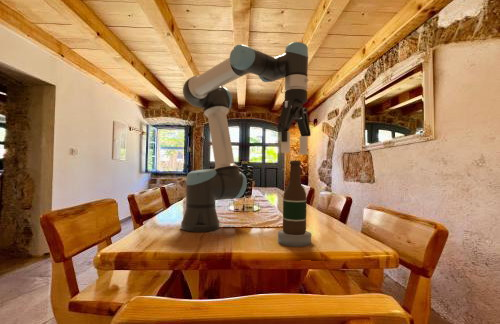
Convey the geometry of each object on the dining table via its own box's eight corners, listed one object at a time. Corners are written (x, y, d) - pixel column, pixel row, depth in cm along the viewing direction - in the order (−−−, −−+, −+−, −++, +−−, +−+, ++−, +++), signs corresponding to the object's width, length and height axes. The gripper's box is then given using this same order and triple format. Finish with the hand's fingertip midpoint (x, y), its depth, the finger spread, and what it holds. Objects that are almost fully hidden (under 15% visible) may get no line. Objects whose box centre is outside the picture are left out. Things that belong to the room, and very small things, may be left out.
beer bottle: (308, 235, 87) (309, 160, 88) (283, 235, 87) (284, 160, 88) (304, 229, 95) (304, 161, 95) (281, 229, 95) (282, 160, 96)
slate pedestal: (271, 242, 90) (271, 233, 90) (287, 236, 99) (287, 227, 99) (302, 249, 83) (302, 238, 83) (316, 241, 92) (316, 231, 92)
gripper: (288, 78, 80) (287, 151, 79) (320, 97, 100) (319, 155, 100) (267, 83, 84) (265, 151, 84) (301, 99, 104) (300, 155, 104)
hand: (294, 153), depth 92 cm, fingers open, 13 cm apart
